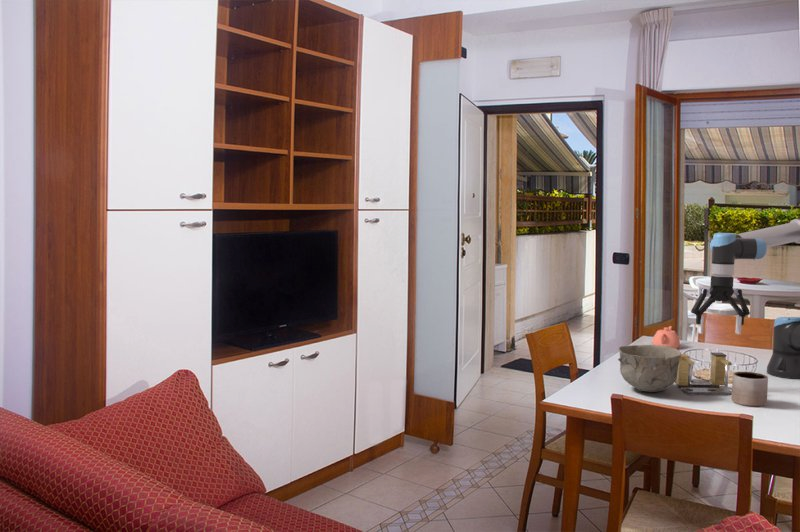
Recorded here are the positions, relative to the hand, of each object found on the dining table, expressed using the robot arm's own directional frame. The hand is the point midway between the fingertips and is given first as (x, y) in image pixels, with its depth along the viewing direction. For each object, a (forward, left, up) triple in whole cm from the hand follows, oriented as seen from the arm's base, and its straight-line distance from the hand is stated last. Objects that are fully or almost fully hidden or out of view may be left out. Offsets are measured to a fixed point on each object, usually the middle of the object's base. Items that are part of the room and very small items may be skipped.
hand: (719, 333), depth 261 cm
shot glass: (+9, -9, -20) cm, 24 cm away
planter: (-3, +20, -20) cm, 28 cm away
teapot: (-7, -74, -20) cm, 77 cm away
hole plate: (+6, +7, -20) cm, 22 cm away
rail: (+7, 0, -20) cm, 21 cm away
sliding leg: (0, +3, -18) cm, 19 cm away
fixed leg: (+13, +3, -19) cm, 23 cm away
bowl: (+27, +6, -20) cm, 34 cm away
